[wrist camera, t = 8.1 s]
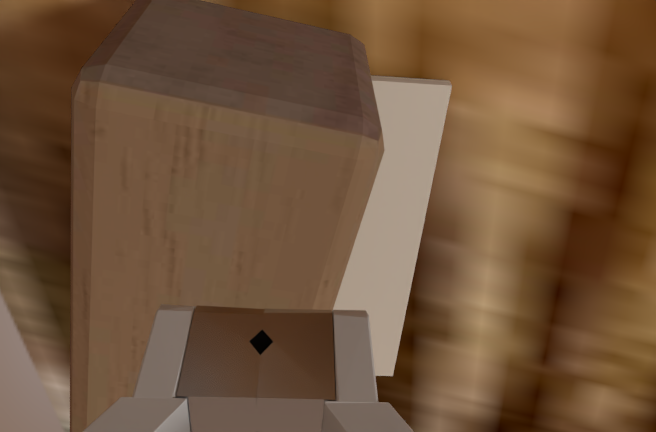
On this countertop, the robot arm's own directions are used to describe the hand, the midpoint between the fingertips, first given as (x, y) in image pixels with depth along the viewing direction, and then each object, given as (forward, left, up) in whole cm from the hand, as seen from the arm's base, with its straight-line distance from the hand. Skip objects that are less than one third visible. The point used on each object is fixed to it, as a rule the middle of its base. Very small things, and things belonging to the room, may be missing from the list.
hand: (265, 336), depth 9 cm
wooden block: (+1, -1, -16) cm, 16 cm away
